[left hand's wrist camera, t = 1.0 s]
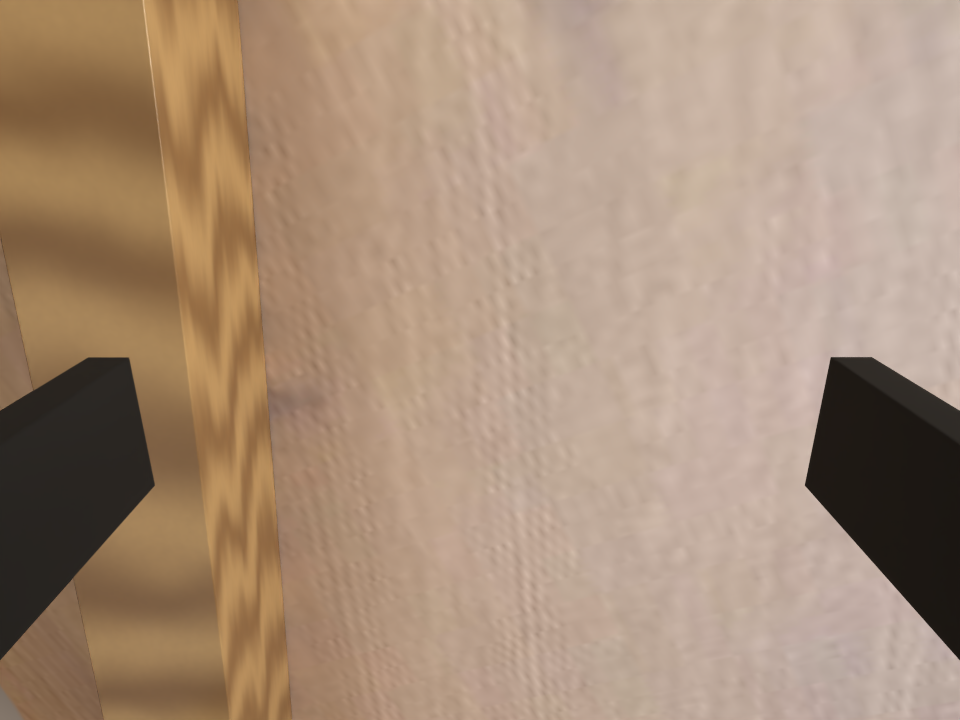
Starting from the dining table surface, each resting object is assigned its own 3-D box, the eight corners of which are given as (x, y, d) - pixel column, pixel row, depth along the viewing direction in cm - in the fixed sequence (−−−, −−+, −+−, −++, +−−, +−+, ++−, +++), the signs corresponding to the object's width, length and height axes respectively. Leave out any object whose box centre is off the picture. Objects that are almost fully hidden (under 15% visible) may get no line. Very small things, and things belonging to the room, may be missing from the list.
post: (79, -124, 24) (-102, -234, 17) (229, -116, 24) (116, -222, 17) (226, 903, 46) (175, 1059, 38) (306, 905, 46) (271, 1061, 38)
